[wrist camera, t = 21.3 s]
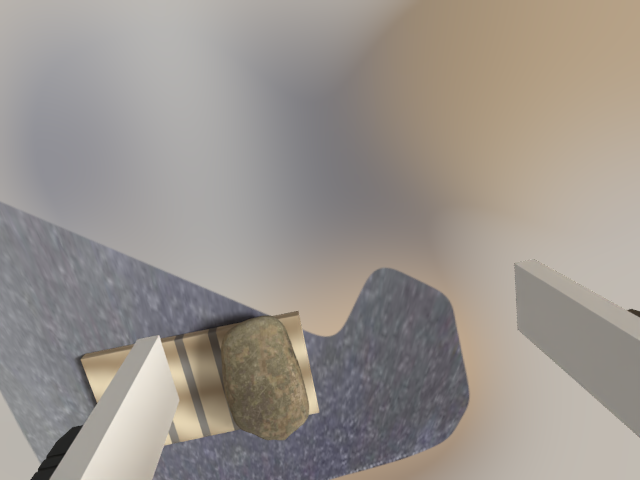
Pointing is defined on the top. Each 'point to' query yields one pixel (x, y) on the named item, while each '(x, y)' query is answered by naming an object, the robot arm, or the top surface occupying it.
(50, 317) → the top surface
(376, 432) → the top surface
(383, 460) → the top surface
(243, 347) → the stone
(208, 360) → the board
